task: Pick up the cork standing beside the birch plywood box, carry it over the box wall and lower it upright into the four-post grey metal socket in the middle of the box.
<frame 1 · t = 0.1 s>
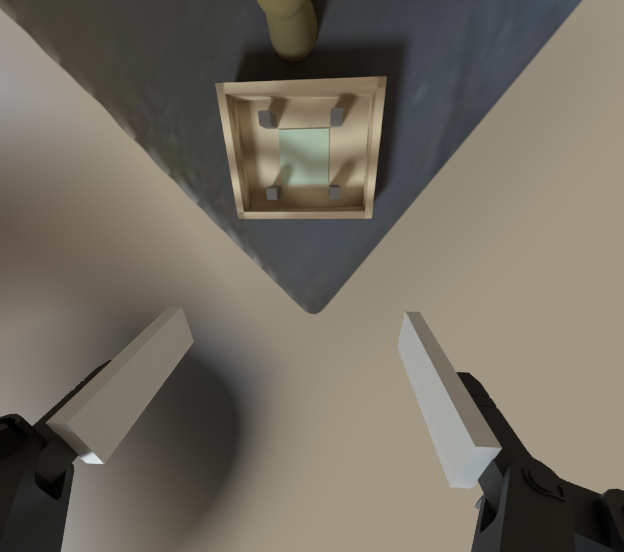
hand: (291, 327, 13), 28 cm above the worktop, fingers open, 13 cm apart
cork: (293, 30, 27), on the worktop
socket box: (304, 158, 34), on the worktop
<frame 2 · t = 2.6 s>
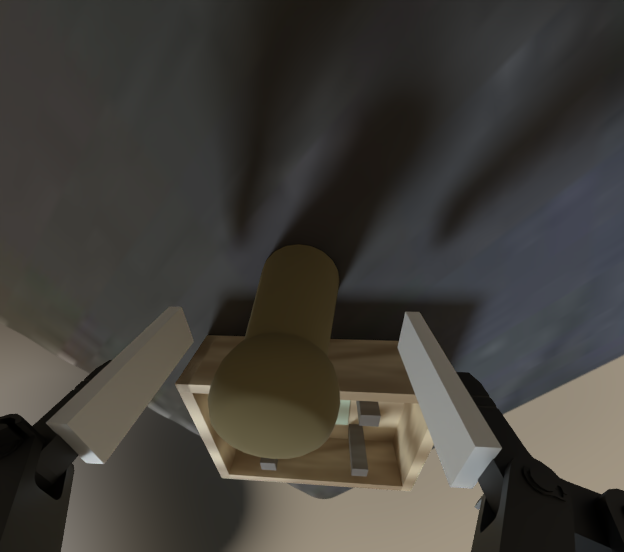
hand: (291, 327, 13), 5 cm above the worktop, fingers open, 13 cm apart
cork: (300, 279, 17), on the worktop
socket box: (315, 393, 24), on the worktop
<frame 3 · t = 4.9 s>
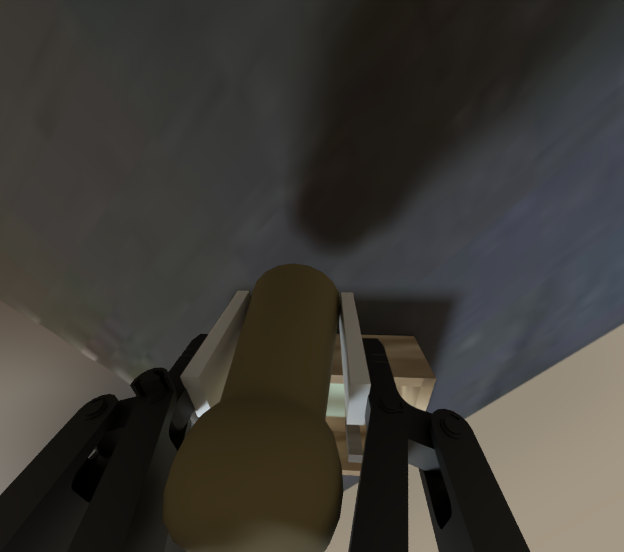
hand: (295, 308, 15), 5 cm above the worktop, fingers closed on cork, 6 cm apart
cork: (296, 302, 15), point 5 cm above the worktop, touching gripper
socket box: (314, 386, 26), on the worktop
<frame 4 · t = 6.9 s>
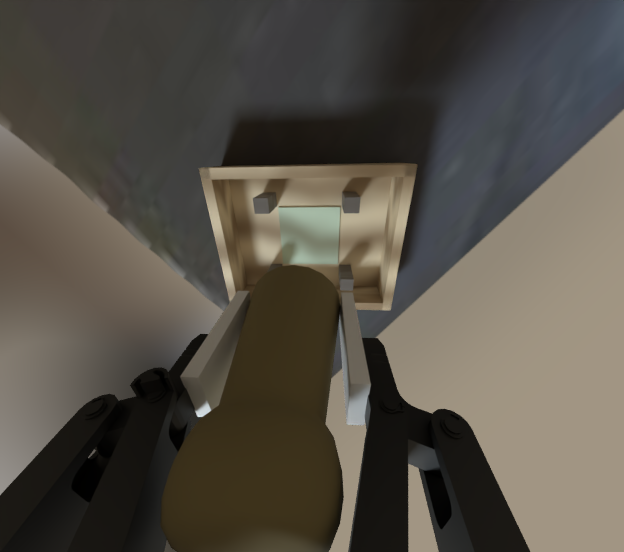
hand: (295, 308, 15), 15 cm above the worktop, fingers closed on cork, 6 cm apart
cork: (296, 303, 15), point 15 cm above the worktop, touching gripper
socket box: (310, 234, 28), on the worktop
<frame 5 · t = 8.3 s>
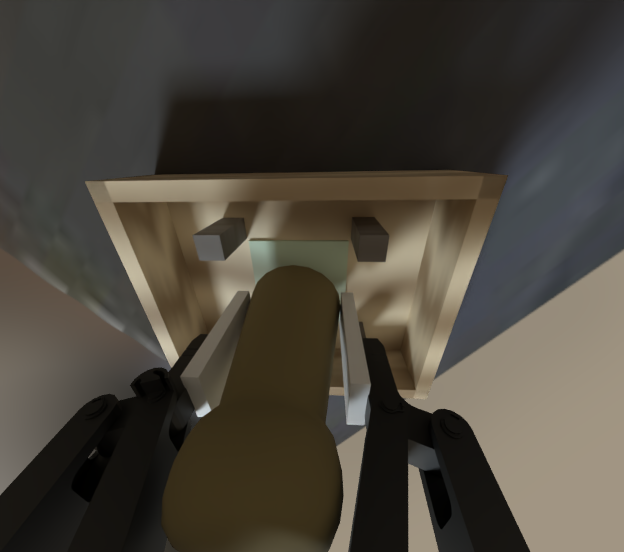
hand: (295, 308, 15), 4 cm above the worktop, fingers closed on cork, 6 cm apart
cork: (296, 303, 15), point 4 cm above the worktop, touching gripper
socket box: (301, 277, 19), on the worktop
when the fingers open (3 cm above the worktop, at t = 9.3 s): cork drops 1 cm, resting on socket box.
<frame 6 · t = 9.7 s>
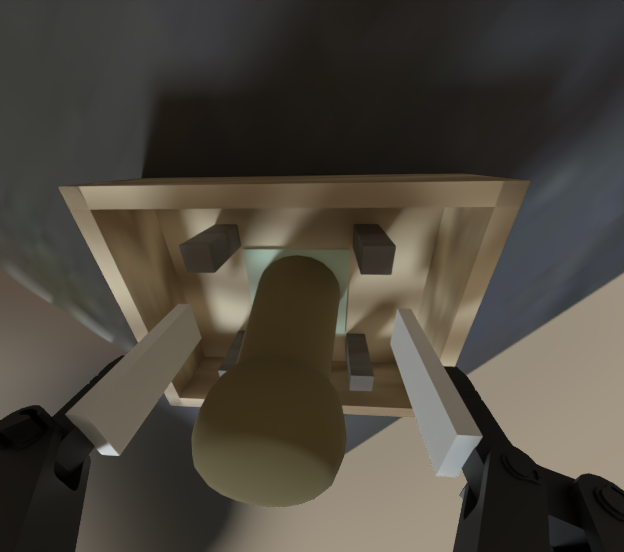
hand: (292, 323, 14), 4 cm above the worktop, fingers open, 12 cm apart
cork: (299, 292, 16), point 1 cm above the worktop, touching socket box
socket box: (299, 287, 17), on the worktop
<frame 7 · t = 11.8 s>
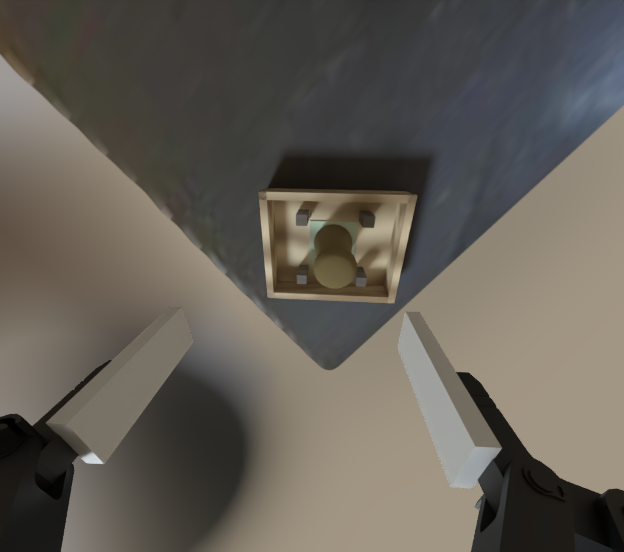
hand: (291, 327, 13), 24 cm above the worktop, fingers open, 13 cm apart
cork: (332, 242, 35), point 1 cm above the worktop, touching socket box
socket box: (332, 242, 36), on the worktop
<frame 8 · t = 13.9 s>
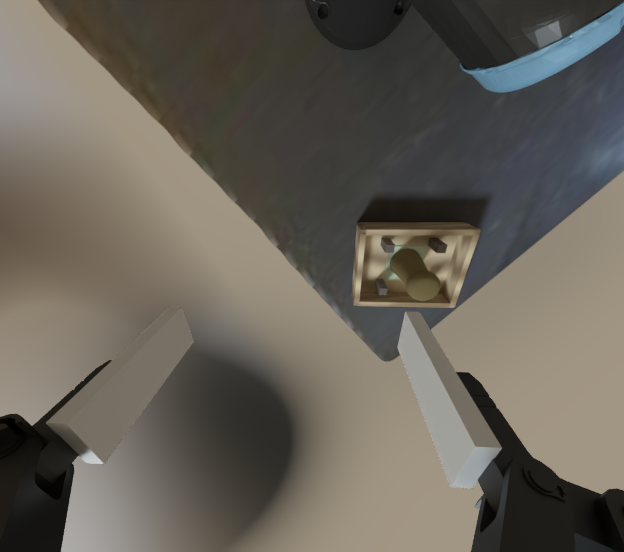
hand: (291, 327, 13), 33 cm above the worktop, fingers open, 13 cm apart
cork: (404, 262, 45), point 1 cm above the worktop, touching socket box
socket box: (402, 260, 46), on the worktop
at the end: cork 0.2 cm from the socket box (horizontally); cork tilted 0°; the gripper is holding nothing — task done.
